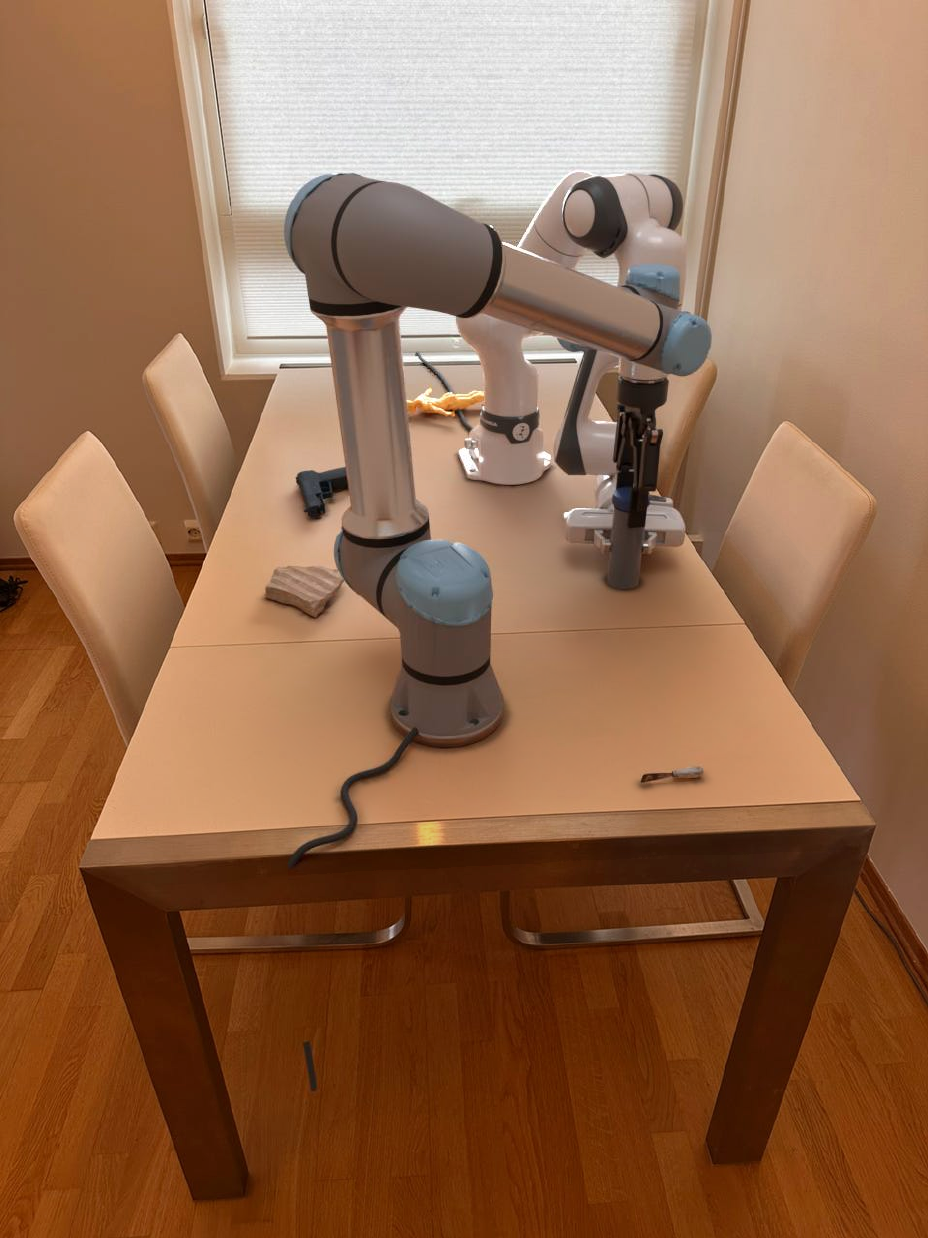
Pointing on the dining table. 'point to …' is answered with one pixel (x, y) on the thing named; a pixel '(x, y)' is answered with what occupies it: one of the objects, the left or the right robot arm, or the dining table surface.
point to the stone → (304, 587)
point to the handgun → (320, 488)
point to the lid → (623, 498)
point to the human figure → (444, 402)
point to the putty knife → (674, 774)
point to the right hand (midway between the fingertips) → (626, 549)
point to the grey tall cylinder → (624, 552)
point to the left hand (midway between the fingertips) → (629, 517)
